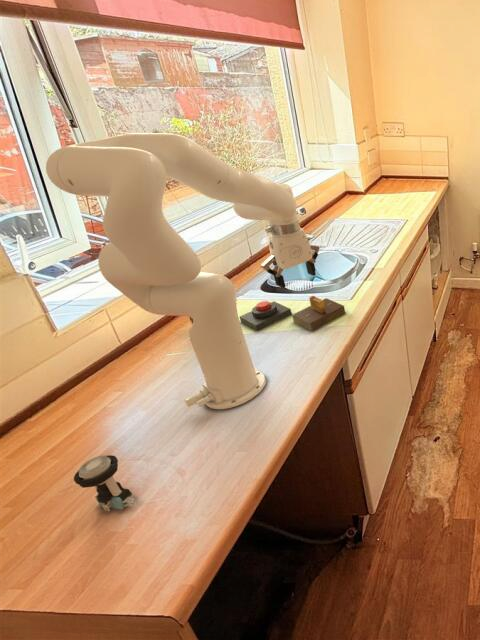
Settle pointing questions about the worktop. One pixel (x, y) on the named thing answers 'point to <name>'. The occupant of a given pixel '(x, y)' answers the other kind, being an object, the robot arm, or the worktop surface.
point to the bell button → (263, 306)
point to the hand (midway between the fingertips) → (297, 280)
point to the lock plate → (318, 315)
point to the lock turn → (317, 304)
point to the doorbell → (265, 316)
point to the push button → (104, 482)
